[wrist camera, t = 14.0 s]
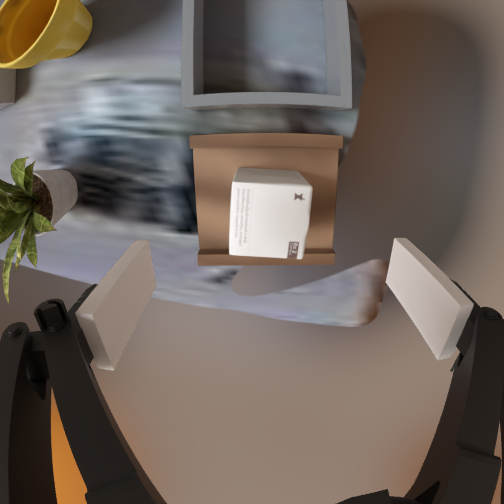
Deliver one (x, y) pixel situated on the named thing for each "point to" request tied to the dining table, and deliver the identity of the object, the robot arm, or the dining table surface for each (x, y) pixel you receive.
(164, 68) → the dining table surface
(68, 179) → the house plant
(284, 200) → the skincare box
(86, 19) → the plant pot
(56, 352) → the robot arm
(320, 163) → the tray
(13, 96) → the dish
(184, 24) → the grey storage bin
